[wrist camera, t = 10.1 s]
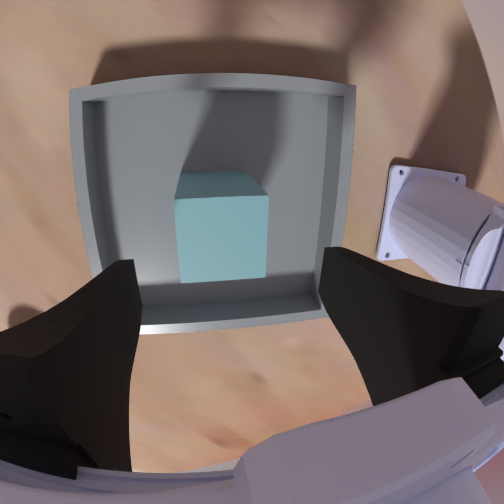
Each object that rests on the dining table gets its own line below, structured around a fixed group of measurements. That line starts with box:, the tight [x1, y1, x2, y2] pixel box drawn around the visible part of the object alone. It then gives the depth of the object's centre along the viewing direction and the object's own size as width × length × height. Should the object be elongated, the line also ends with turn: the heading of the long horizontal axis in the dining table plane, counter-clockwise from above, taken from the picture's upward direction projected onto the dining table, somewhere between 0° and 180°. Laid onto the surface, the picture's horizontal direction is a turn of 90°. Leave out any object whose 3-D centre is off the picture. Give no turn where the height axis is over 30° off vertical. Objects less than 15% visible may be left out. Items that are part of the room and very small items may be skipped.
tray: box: [69, 73, 356, 334], centre depth 18 cm, size 16×16×3 cm
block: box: [174, 171, 269, 283], centre depth 16 cm, size 4×4×6 cm
